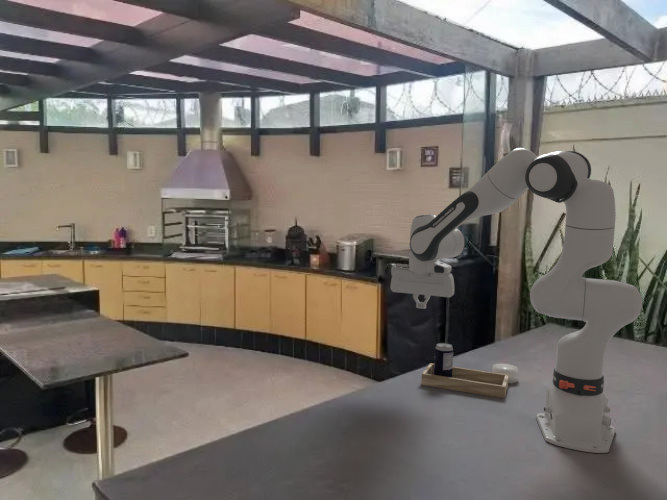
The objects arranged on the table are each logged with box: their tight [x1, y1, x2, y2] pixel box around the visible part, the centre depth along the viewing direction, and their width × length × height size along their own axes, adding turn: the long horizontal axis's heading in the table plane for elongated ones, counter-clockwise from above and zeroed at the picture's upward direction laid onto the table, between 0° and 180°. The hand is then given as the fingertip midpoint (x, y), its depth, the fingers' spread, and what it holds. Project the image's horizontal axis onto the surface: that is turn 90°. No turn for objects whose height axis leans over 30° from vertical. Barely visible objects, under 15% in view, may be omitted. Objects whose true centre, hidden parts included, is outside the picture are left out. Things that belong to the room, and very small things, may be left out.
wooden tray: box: [420, 362, 509, 399], centre depth 165 cm, size 12×25×4 cm, turn 67°
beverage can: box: [433, 342, 454, 378], centre depth 167 cm, size 6×6×12 cm
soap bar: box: [492, 363, 519, 384], centre depth 171 cm, size 8×8×4 cm
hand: (421, 308), depth 168 cm, fingers closed
